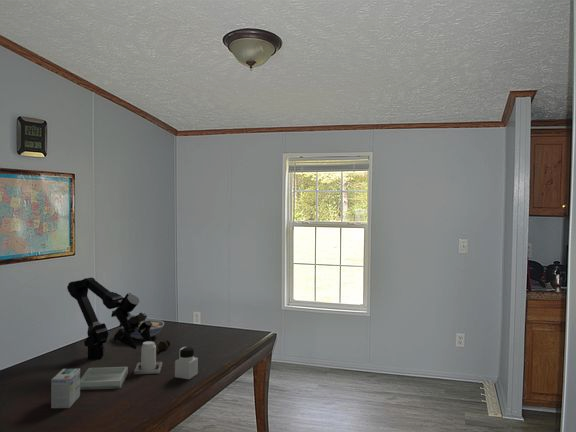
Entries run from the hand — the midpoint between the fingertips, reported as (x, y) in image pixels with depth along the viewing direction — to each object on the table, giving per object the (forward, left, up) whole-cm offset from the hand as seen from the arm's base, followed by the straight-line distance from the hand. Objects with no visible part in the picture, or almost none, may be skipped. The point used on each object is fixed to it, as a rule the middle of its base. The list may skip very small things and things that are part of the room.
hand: (143, 345), depth 207 cm
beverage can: (+2, -2, -10) cm, 11 cm away
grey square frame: (+2, -2, -10) cm, 11 cm away
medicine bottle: (+19, -11, -10) cm, 25 cm away
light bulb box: (-23, -33, -10) cm, 41 cm away
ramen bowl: (-8, +48, -10) cm, 50 cm away
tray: (-14, -14, -10) cm, 22 cm away
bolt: (+5, +23, -10) cm, 26 cm away
